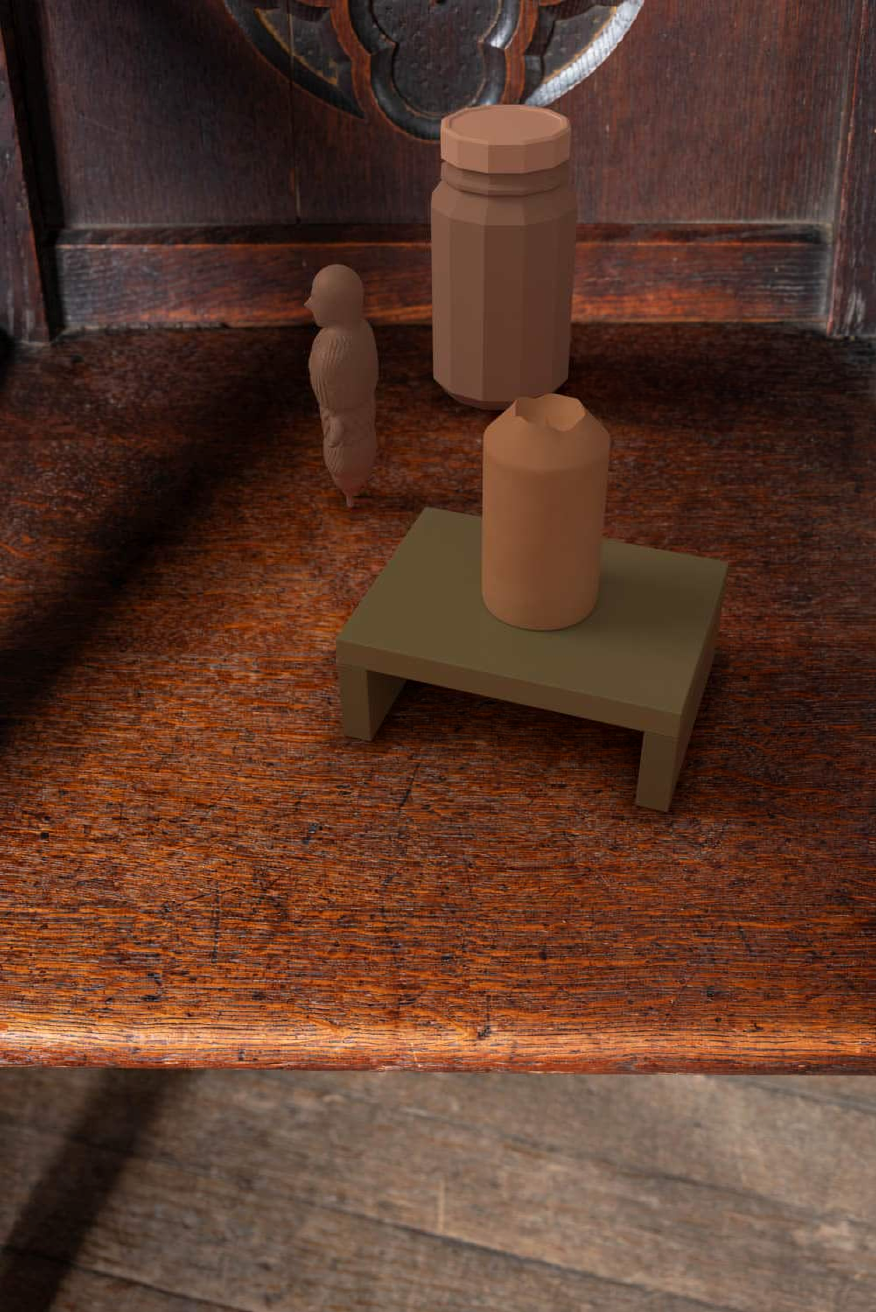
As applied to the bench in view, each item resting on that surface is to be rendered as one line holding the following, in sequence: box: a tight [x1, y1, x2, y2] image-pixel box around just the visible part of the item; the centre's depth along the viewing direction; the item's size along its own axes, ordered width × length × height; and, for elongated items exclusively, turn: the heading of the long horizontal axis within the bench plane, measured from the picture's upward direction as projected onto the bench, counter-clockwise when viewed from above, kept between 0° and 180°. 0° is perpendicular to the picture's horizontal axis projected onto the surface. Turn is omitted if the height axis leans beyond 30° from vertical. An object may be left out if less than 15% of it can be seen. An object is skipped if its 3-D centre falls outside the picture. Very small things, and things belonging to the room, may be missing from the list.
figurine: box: [303, 263, 379, 509], centre depth 73 cm, size 9×4×15 cm, turn 168°
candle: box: [481, 393, 612, 630], centre depth 57 cm, size 6×6×10 cm
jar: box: [430, 104, 579, 411], centre depth 84 cm, size 10×10×18 cm
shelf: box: [335, 506, 730, 813], centre depth 62 cm, size 16×12×6 cm
